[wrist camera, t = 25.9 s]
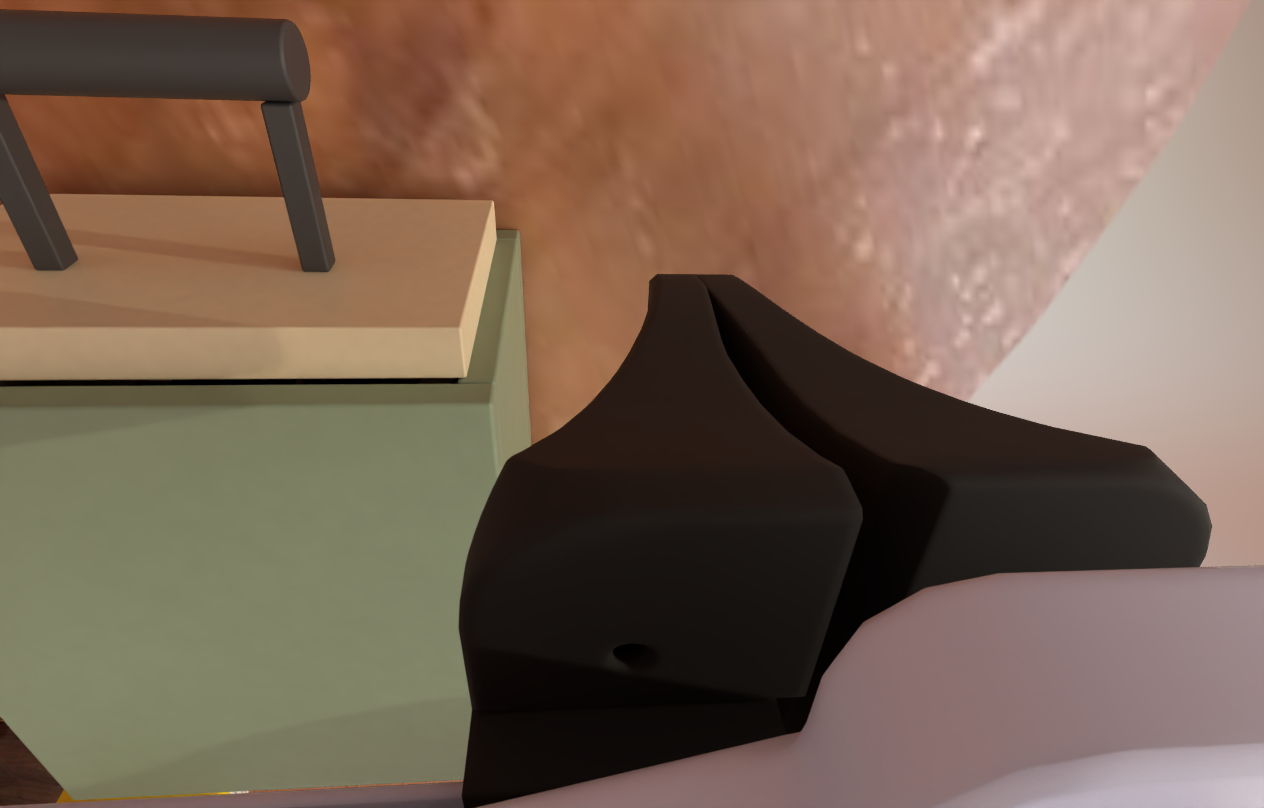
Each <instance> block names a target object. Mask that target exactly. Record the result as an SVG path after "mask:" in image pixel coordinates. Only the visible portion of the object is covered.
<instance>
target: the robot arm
mask: <svg viewBox="0 0 1264 808" xmlns="http://www.w3.org/2000/svg"><path fill="white" fill-rule="evenodd" d="M1211 529H1212V524H1211V520H1210V517H1209V513H1208V509H1207V506H1206V504H1205V503H1204V502H1203V501H1202V500H1201V499H1200V498H1199V497H1198V496H1197V495H1196V494H1195V493H1194V492H1193V491H1192V490H1191V489H1190V488H1189V487H1188V486H1187V485H1186V484H1185V483H1184V482H1183V481H1182V480H1181V479H1180V478H1179V477H1178V476H1177V475H1176V474H1175V473H1174V472H1173V471H1172V470H1171V469H1170V468H1169V467H1167V465H1165V463H1163V462H1162V461H1161V460H1160V459H1159V458H1158V457H1157V456H1156V455H1155V454H1154V453H1153V452H1152V451H1151V450H1150V449H1148V448H1147V447H1145V446H1141V445H1136V444H1131V443H1127V442H1121V441H1116V440H1112V439H1107V438H1102V437H1097V436H1093V435H1088V434H1084V433H1079V432H1074V431H1069V430H1065V429H1060V428H1055V427H1051V426H1047V425H1043V424H1039V423H1036V422H1032V421H1028V420H1024V419H1021V418H1017V417H1014V416H1010V415H1007V414H1003V413H999V412H996V411H993V410H990V409H986V408H983V407H980V406H977V405H974V404H971V403H968V402H965V401H962V400H959V399H956V398H954V397H951V396H948V395H946V394H943V393H940V392H938V391H935V390H932V389H929V388H927V387H924V386H921V385H919V384H917V383H914V382H912V381H909V380H907V379H905V378H902V377H900V376H898V375H896V374H894V373H892V372H890V371H887V370H885V369H883V368H881V367H879V366H877V365H875V364H873V363H871V362H869V361H867V360H864V359H863V358H861V357H859V356H857V355H855V354H853V353H851V352H850V351H848V350H846V349H844V348H843V347H841V346H839V345H838V344H836V343H834V342H833V341H831V340H829V339H828V338H826V337H824V336H822V335H821V334H819V333H818V332H816V331H815V330H813V329H811V328H810V327H808V326H807V325H805V324H804V323H802V322H801V321H799V320H798V319H796V318H795V317H793V316H792V315H791V314H789V313H788V312H786V311H785V310H783V309H782V308H781V307H779V306H778V305H776V304H775V303H774V302H772V301H771V300H769V299H768V298H767V297H765V296H764V295H762V294H761V293H760V292H758V291H757V290H755V289H754V288H753V287H751V286H750V285H748V284H747V283H745V282H744V281H742V280H741V279H739V278H737V277H735V276H734V275H697V274H657V275H656V276H655V277H653V278H652V279H651V280H650V282H649V299H648V312H647V315H646V318H645V321H644V324H643V326H642V329H641V331H640V333H639V335H638V337H637V339H636V341H635V342H634V344H633V346H632V348H631V350H630V352H629V354H628V355H627V357H626V359H625V360H624V362H623V363H622V365H621V366H620V368H619V369H618V371H617V372H616V373H615V375H614V376H613V377H612V379H611V380H610V381H609V383H608V384H607V385H606V386H605V387H604V388H603V389H602V391H601V392H600V393H599V394H598V395H597V396H596V397H595V399H594V400H593V401H592V402H591V403H590V404H589V405H588V406H587V407H586V408H584V409H583V410H582V411H581V412H580V413H579V414H578V415H576V416H575V417H574V418H573V419H571V420H570V421H569V422H568V423H567V424H565V425H564V426H563V427H562V428H560V429H559V430H557V431H556V432H554V433H553V434H551V435H549V436H548V437H546V438H544V439H542V440H541V441H539V442H537V443H535V444H534V445H532V446H530V447H528V448H526V449H525V450H523V451H521V452H519V453H517V454H515V455H513V456H511V457H510V458H509V459H508V460H507V461H506V462H505V464H504V466H503V468H502V470H501V472H500V474H499V476H498V478H497V480H496V482H495V484H494V486H493V488H492V490H491V493H490V495H489V497H488V499H487V502H486V504H485V506H484V509H483V511H482V513H481V516H480V519H479V521H478V524H477V527H476V530H475V533H474V536H473V539H472V542H471V545H470V549H469V552H468V556H467V560H466V564H465V570H464V576H463V583H462V589H461V596H460V604H459V625H458V629H459V635H460V641H461V647H462V653H463V659H464V665H465V671H466V677H467V683H468V689H469V695H470V701H471V707H472V714H471V722H470V731H469V739H468V747H467V755H466V763H465V772H464V780H463V782H446V783H427V784H408V785H390V786H371V787H352V788H333V789H314V790H295V791H276V792H257V793H238V794H219V795H200V796H181V797H162V798H143V799H124V800H105V801H86V802H67V803H48V804H29V805H10V806H0V808H1264V565H1254V566H1222V567H1200V565H1201V563H1202V561H1203V560H1204V558H1205V556H1206V553H1207V549H1208V544H1209V539H1210V533H1211Z"/></svg>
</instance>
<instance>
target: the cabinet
mask: <svg viewBox="0 0 1264 808" xmlns="http://www.w3.org/2000/svg"><path fill="white" fill-rule="evenodd" d="M496 236H497V240H496V245H495V249H494V254H493V258H492V263H491V268H490V272H489V277H488V281H487V286H486V290H485V295H484V300H483V304H482V309H481V313H480V318H479V322H478V327H477V332H476V336H475V341H474V345H473V350H472V354H471V359H470V364H469V368H468V373H467V376H466V377H465V378H459V379H458V384H319V385H162V386H5V387H0V717H1V718H2V719H3V721H4V722H5V723H6V724H7V725H8V726H9V727H10V729H11V730H12V731H13V732H14V733H15V734H16V735H17V737H18V738H19V739H20V740H21V741H22V742H23V743H24V744H25V746H26V747H27V748H28V749H29V750H30V751H31V752H32V754H33V755H34V756H35V757H36V758H37V759H38V760H39V762H40V763H41V764H42V765H43V766H44V767H45V768H46V769H47V771H48V772H49V773H50V774H51V775H52V776H53V777H54V779H55V780H56V781H57V782H58V783H59V784H60V785H61V787H62V788H63V789H64V790H65V791H66V792H67V793H68V794H69V796H70V797H71V798H72V799H73V800H87V799H106V798H125V797H144V796H163V795H182V794H201V793H220V792H239V791H258V790H277V789H296V788H315V787H334V786H353V785H372V784H391V783H410V782H429V781H448V780H464V772H465V763H466V755H467V747H468V739H469V731H470V722H471V714H472V707H471V701H470V695H469V689H468V683H467V677H466V671H465V665H464V659H463V653H462V647H461V641H460V635H459V629H458V625H459V604H460V596H461V589H462V583H463V576H464V570H465V564H466V560H467V556H468V552H469V549H470V545H471V542H472V539H473V536H474V533H475V530H476V527H477V524H478V521H479V519H480V516H481V513H482V511H483V509H484V506H485V504H486V502H487V499H488V497H489V495H490V493H491V490H492V488H493V486H494V484H495V482H496V480H497V478H498V476H499V474H500V472H501V470H502V468H503V466H504V464H505V462H506V461H507V460H508V459H509V458H510V457H511V456H513V455H515V454H517V453H519V452H521V451H523V450H525V449H526V448H528V447H530V446H531V429H530V411H529V393H528V374H527V356H526V338H525V320H524V302H523V284H522V266H521V248H520V232H519V231H518V230H496Z"/></svg>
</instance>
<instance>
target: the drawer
mask: <svg viewBox="0 0 1264 808" xmlns="http://www.w3.org/2000/svg"><path fill="white" fill-rule="evenodd" d="M309 90H310V64H309V58H308V53H307V49H306V46H305V43H304V40H303V38H302V35H301V33H300V31H299V29H298V28H297V26H296V25H295V24H294V23H293V22H292V21H289V20H287V19H262V18H234V17H206V16H177V15H149V14H121V13H93V12H64V11H36V10H8V9H0V200H1V202H2V205H0V387H5V386H162V385H168V384H169V383H170V382H171V381H172V380H176V379H351V378H382V379H383V384H458V379H459V378H465V377H466V376H467V373H468V368H469V364H470V359H471V354H472V350H473V345H474V341H475V336H476V332H477V327H478V322H479V318H480V313H481V309H482V304H483V300H484V295H485V290H486V286H487V281H488V277H489V272H490V268H491V263H492V258H493V254H494V249H495V245H496V240H497V236H496V223H495V210H494V202H493V201H492V200H434V199H368V198H322V197H321V192H320V188H319V183H318V179H317V174H316V170H315V165H314V161H313V156H312V152H311V147H310V143H309V138H308V134H307V129H306V125H305V120H304V115H303V111H302V106H301V101H304V100H305V99H306V98H307V97H308V94H309ZM4 94H13V95H52V96H90V97H129V98H167V99H206V100H244V101H265V102H264V103H262V104H261V109H262V113H263V117H264V121H265V125H266V129H267V133H268V137H269V141H270V145H271V149H272V153H273V157H274V161H275V165H276V169H277V172H278V176H279V180H280V184H281V188H282V192H283V196H284V197H235V196H168V195H102V194H49V192H48V190H47V188H46V186H45V183H44V181H43V179H42V177H41V175H40V172H39V170H38V168H37V166H36V164H35V161H34V159H33V157H32V155H31V152H30V150H29V148H28V146H27V144H26V141H25V139H24V137H23V135H22V132H21V130H20V128H19V126H18V124H17V121H16V119H15V117H14V115H13V112H12V110H11V108H10V106H9V104H8V101H7V99H6V97H5V95H4Z"/></svg>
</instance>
